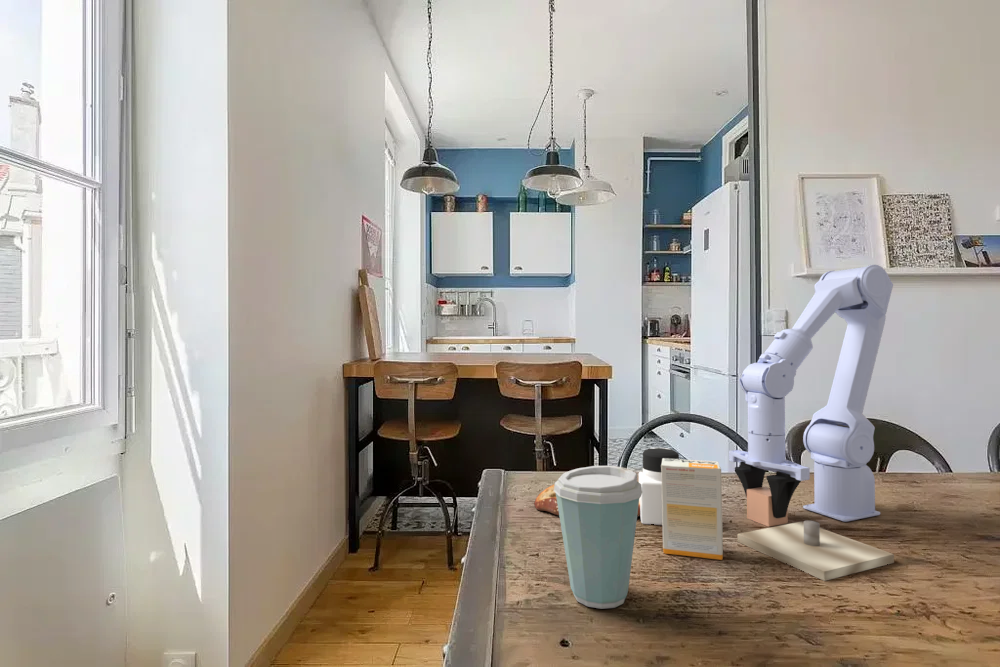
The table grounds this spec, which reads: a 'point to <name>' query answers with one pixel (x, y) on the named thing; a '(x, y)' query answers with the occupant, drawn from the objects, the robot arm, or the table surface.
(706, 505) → the supplement box
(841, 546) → the post board
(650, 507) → the medicine bottle
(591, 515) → the disposable coffee cup
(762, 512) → the salmon pink cube
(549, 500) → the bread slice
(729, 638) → the table surface
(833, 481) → the robot arm
